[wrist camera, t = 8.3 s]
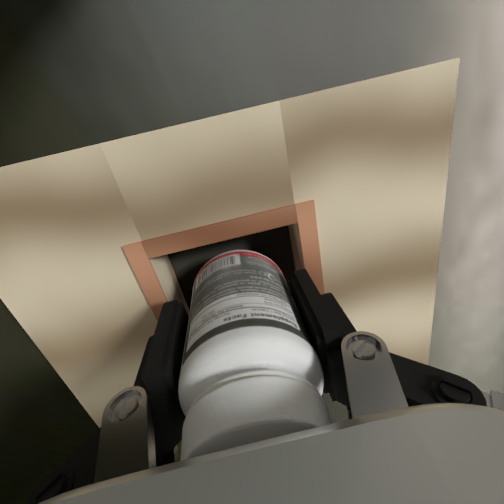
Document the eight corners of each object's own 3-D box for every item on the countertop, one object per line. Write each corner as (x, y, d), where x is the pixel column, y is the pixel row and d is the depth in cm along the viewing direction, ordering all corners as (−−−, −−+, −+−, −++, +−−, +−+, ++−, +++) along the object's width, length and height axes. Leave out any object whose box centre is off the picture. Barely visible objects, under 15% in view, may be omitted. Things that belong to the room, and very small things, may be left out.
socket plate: (-28, 175, 12) (-89, 188, 10) (415, 69, 12) (463, 56, 10) (123, 405, 19) (110, 445, 17) (403, 336, 19) (429, 367, 17)
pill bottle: (272, 328, 16) (322, 519, 8) (188, 320, 15) (156, 526, 7) (295, 254, 14) (388, 413, 6) (200, 239, 13) (175, 406, 5)
